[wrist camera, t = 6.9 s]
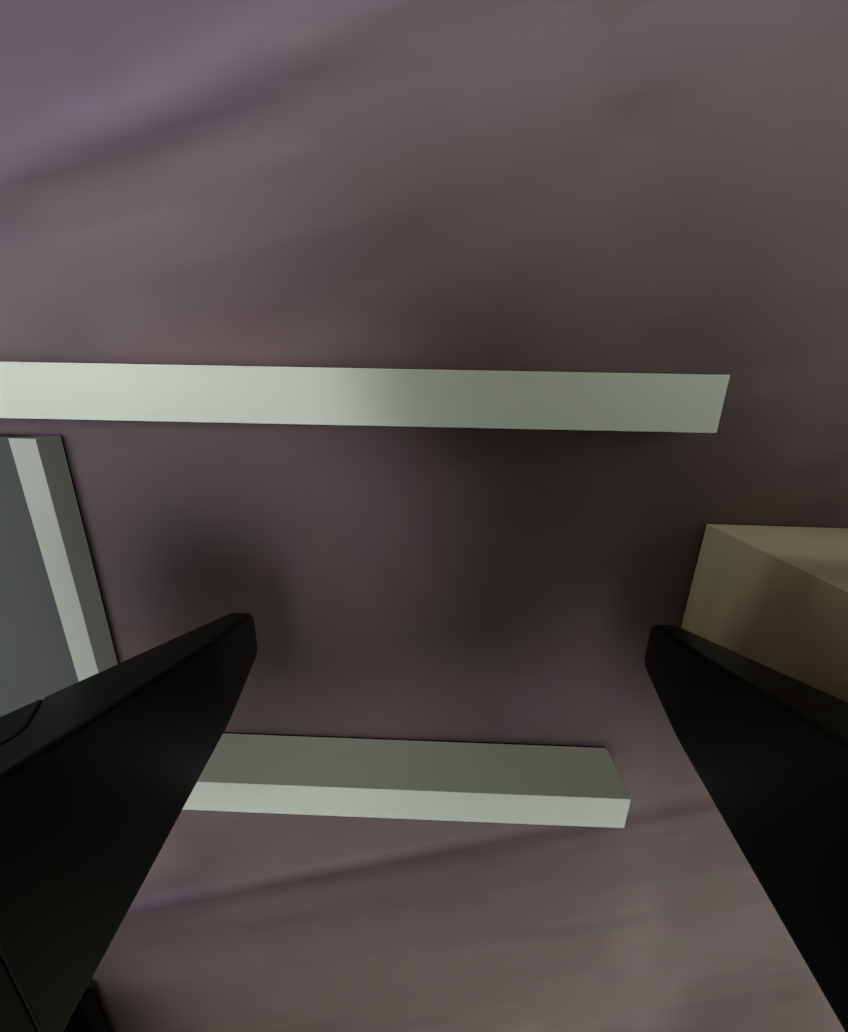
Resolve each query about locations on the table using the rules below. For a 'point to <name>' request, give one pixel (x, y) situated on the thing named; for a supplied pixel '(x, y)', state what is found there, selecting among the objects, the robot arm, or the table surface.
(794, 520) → the table surface
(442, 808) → the guide rails
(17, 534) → the pad
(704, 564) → the maple block
